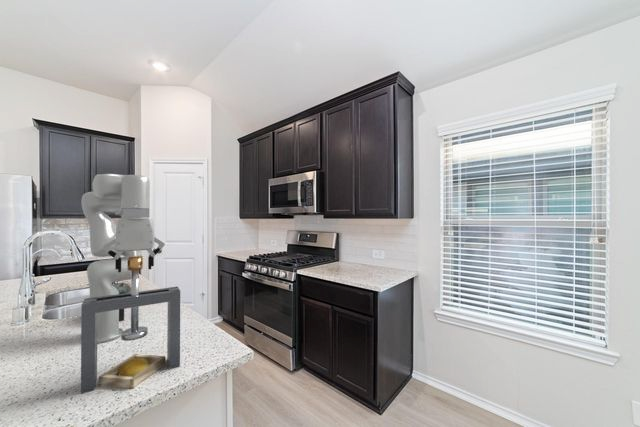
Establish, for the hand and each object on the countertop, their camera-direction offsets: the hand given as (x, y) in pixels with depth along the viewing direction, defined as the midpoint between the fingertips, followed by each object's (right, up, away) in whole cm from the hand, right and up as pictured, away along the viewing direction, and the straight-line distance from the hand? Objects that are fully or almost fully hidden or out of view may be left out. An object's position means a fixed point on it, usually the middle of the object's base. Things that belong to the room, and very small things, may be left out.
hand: (135, 269), depth 87 cm
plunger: (0, -21, 0) cm, 21 cm away
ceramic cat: (-42, -33, +48) cm, 72 cm away
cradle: (0, -33, 0) cm, 33 cm away
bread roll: (0, -33, 0) cm, 33 cm away
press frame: (0, -33, 0) cm, 33 cm away
